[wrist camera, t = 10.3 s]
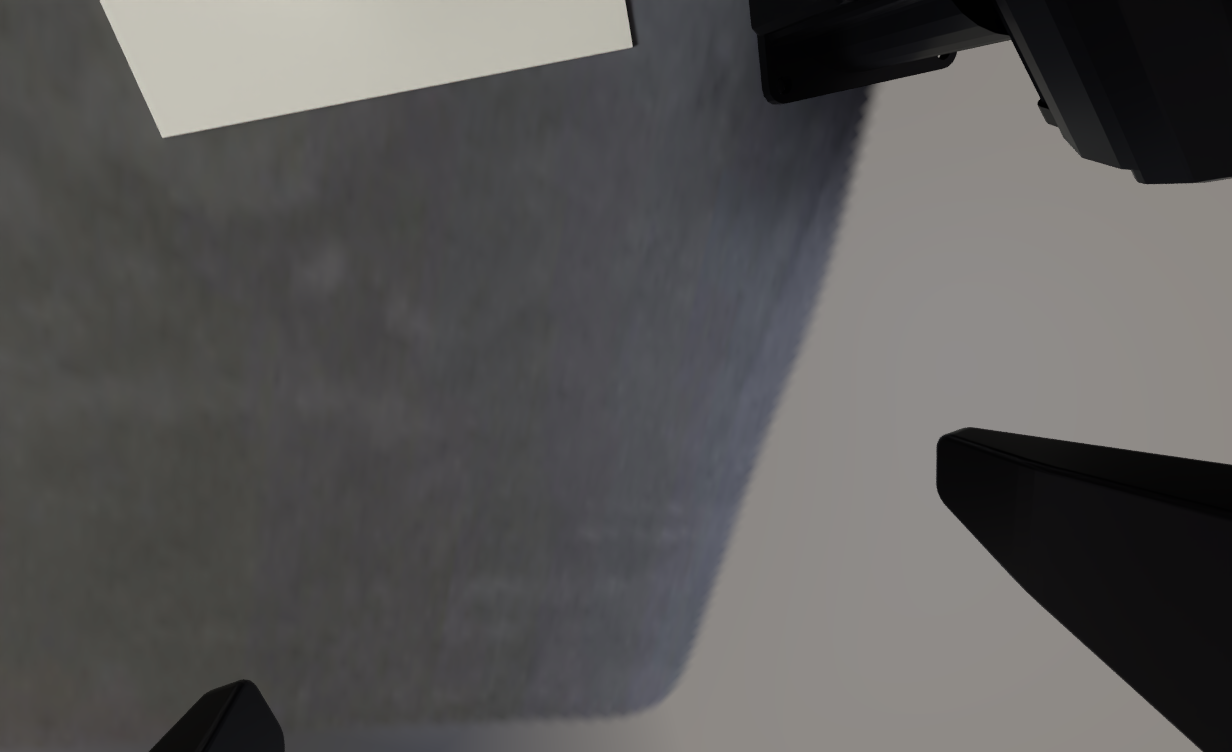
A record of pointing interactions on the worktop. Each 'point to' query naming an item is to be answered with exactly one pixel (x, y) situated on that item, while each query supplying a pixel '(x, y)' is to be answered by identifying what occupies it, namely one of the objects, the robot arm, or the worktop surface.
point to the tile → (338, 50)
